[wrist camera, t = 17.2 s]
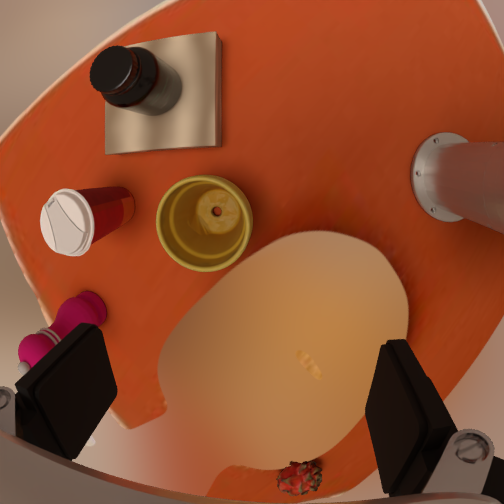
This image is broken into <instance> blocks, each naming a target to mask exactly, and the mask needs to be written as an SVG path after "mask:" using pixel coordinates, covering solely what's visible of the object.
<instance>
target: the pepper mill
mask: <svg viewBox="0 0 504 504" xmlns="http://www.w3.org/2000/svg"><path fill="white" fill-rule="evenodd" d="M106 315H107V311H106V307H105V305H104V302H103V301H102V300H101V298H100V297H99V296H98V295H96V294H95V293H93V292H90V291H85V292H82V293H80V294H79V295H78V296H76V297H72V298H69V299H67V300H66V301H65V302H64V303H63V304H62V305H61V307H60V308H59V310H58V313H57V316H56V319H55V321H54V323H53V324H52V325H51V326H50V327H48V328H42V329H40V331H38V332H37V333H36V334H30V335H28V336H26V337H25V338H24V339H23V340H22V341H21V343H20V345H19V349H18V355H19V359H20V363H19V365H18V370H19V372H20V373H21V374H23V375H25V374H26V373H27V372H28V371H29V370H30V369H31V368H32V367H33V366H34V365H35V364H36V363H37V362H38V361H39V360H40V359H41V358H42V357H44V356H45V355H46V354H47V353H48V352H49V351H50V350H51V349H52V348H53V347H54V346H55V345H56V344H58V343H59V342H60V341H61V340H62V339H63V338H64V337H65V336H66V335H67V334H69V333H70V332H71V331H72V330H73V329H74V328H75V327H76V326H77V325H79V324H80V323H81V322H84V323H90V324H96V325H97V326H98V327H99V326H100V325H101V324H102V323H103V322H104V321H105V319H106Z"/></svg>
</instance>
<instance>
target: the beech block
mask: <svg viewBox="0 0 504 504" xmlns="http://www.w3.org/2000/svg"><path fill="white" fill-rule="evenodd" d="M125 47H126V48H128V47H142V48H145V49H147V50H149V51H151V52H152V53H154V54H155V55H156V56H158V57H159V58H160V59H162V60H163V61H164V62H166V63H167V64H168V65H170V66H171V67H172V68H173V69H174V70H175V71H176V72H177V73H178V74H179V76H180V78H181V82H182V91H181V95H180V98H179V100H178V101H177V103H176V104H175V105H174V106H173V108H171V109H170V110H169V111H167V112H166V113H164V114H161V115H157V116H148V115H143V114H140V113H136V112H132V111H128V110H125V109H121V108H117V107H114V106H112V105H110V104H109V103H108V102H107V101H105V155H111V154H127V153H137V152H147V151H159V150H172V149H187V148H206V147H222V140H221V71H222V42H221V40H220V38H219V36H218V34H217V33H216V32H206V33H198V34H190V35H183V36H176V37H170V38H164V39H158V40H153V41H148V42H143V43H138V44H133V45H129V46H125Z"/></svg>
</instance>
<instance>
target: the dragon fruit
mask: <svg viewBox="0 0 504 504" xmlns="http://www.w3.org/2000/svg"><path fill="white" fill-rule="evenodd" d="M313 463H314V465H315V466H316V464H317V463H316V462H314V461H311V462H307V461H305V462H303V463H298V462H292V461H291V462H290V465H291V466H289V467H285V469H284V470H283V471H282V472H281V473H280V475H279V476H278V478H277V479H276V480H278V484H277V486H278V488H279V490H280V491H281V492H283V493H288V494H289V495H290V496H294V495H295V496H297V495H299V494H301V495H304V494H307V493H308V491H317V489H318V488H317V487H318V486H320V483H321V482H322V474H321V473H320V472H321V471H322V469H321V468H319V467H313Z"/></svg>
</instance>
